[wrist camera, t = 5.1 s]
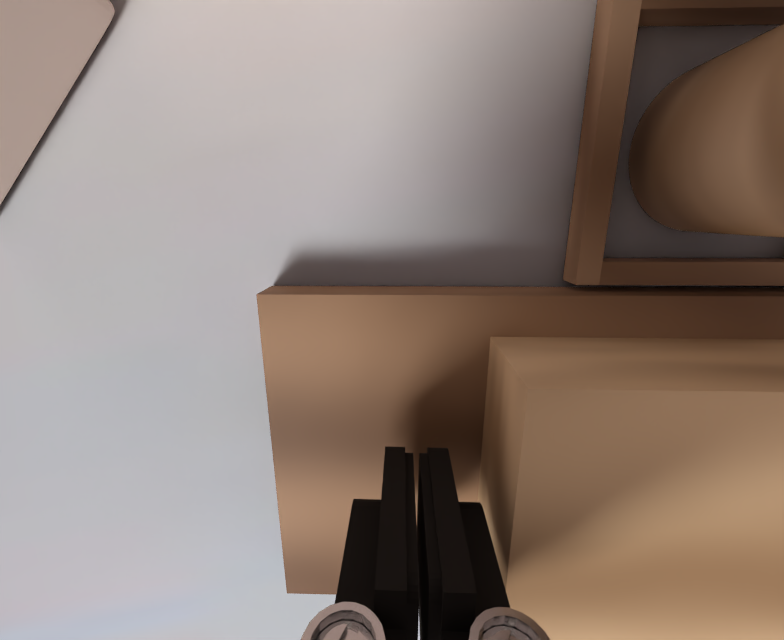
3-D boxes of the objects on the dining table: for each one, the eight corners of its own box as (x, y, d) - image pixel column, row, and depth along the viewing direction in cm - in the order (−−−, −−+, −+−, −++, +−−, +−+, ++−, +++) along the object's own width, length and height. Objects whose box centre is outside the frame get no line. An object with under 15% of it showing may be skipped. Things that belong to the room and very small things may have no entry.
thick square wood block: (490, 336, 10) (528, 388, 7) (806, 339, 10) (981, 394, 7) (471, 576, 12) (494, 691, 9) (729, 582, 12) (835, 701, 9)
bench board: (272, 285, 11) (256, 294, 10) (1115, 288, 10) (1207, 298, 9) (297, 560, 14) (286, 593, 12) (962, 575, 13) (1017, 611, 12)
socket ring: (597, -4, 9) (617, -25, 8) (893, -9, 9) (941, -30, 8) (562, 279, 10) (575, 285, 10) (806, 280, 10) (838, 285, 10)
